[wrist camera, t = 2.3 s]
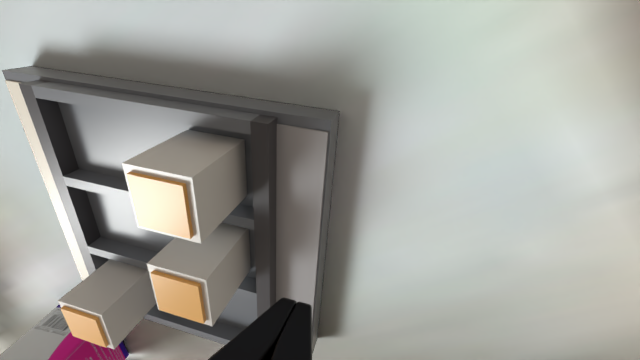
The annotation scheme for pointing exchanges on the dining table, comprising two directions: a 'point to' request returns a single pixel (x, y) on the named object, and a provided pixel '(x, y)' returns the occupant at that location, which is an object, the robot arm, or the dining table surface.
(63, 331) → the supplement box
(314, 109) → the switch bank
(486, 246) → the dining table surface
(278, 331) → the robot arm
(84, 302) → the switch tab
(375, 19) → the dining table surface
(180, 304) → the switch tab
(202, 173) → the switch tab
